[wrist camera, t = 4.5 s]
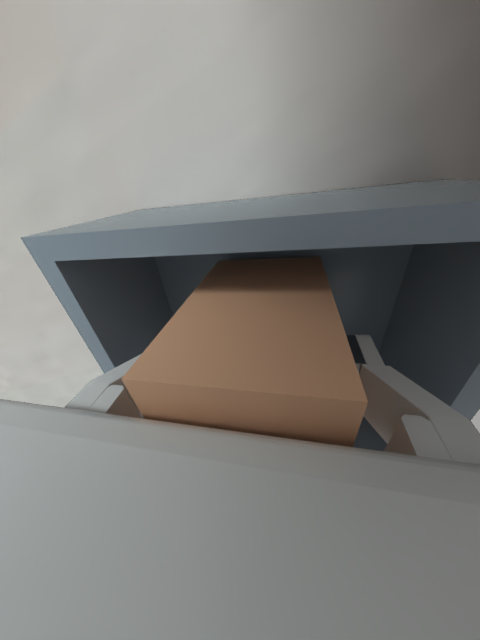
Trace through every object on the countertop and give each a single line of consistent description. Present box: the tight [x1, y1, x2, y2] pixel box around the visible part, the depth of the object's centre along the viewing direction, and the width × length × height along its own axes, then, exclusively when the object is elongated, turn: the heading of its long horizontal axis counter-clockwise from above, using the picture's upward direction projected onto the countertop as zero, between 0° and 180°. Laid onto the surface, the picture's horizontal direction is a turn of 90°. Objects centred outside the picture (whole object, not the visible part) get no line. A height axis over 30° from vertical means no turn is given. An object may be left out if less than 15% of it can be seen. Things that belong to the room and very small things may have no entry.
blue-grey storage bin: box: [21, 179, 480, 451], centre depth 11 cm, size 11×15×6 cm
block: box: [122, 257, 368, 447], centre depth 9 cm, size 5×5×8 cm
